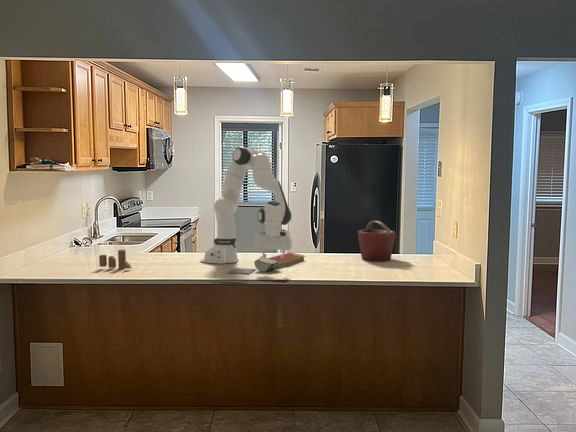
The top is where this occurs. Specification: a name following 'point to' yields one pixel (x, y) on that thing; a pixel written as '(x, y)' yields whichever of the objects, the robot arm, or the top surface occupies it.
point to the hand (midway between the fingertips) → (273, 257)
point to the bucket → (376, 243)
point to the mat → (241, 271)
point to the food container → (266, 264)
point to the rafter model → (290, 256)
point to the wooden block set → (112, 260)
